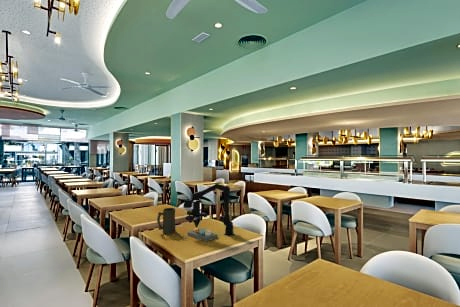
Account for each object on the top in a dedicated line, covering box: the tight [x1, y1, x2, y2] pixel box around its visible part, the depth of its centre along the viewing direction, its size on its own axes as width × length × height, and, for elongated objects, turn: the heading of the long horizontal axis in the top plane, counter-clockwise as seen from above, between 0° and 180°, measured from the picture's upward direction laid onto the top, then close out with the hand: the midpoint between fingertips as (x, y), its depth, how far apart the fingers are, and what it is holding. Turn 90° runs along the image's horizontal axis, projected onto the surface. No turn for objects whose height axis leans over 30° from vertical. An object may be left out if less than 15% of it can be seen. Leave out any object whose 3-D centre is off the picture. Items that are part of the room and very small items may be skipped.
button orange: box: [193, 227, 201, 233], centre depth 203 cm, size 5×5×4 cm
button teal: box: [199, 228, 206, 235], centre depth 199 cm, size 5×5×4 cm
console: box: [187, 229, 218, 242], centre depth 198 cm, size 12×22×2 cm, turn 47°
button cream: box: [205, 229, 212, 237], centre depth 194 cm, size 5×5×4 cm
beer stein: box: [156, 207, 177, 235], centre depth 208 cm, size 15×11×20 cm
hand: (196, 227), depth 203 cm, fingers closed
